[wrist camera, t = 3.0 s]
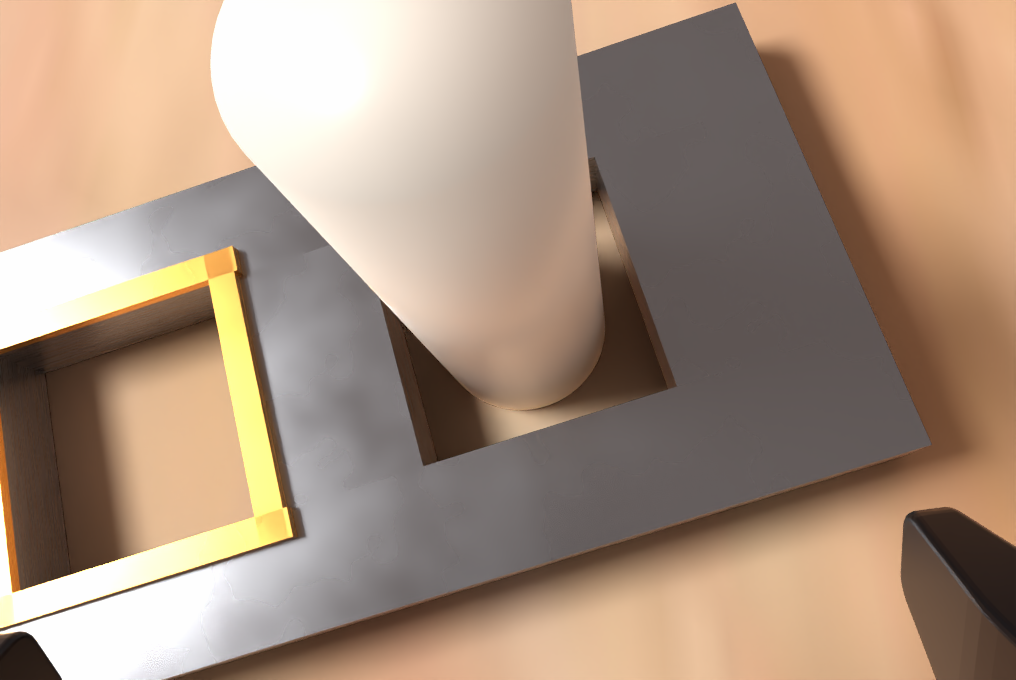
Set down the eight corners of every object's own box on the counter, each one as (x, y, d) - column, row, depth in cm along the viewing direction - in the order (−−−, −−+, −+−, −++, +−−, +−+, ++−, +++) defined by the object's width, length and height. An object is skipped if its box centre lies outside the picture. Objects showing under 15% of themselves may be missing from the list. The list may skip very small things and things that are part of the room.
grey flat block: (727, 48, 24) (736, -5, 21) (903, 456, 20) (936, 442, 18) (-114, 331, 25) (-185, 308, 23) (-83, 757, 22) (-163, 778, 19)
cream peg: (608, 251, 23) (579, -133, 10) (602, 413, 22) (563, 204, 9) (448, 250, 23) (238, -112, 11) (434, 407, 22) (183, 204, 10)
